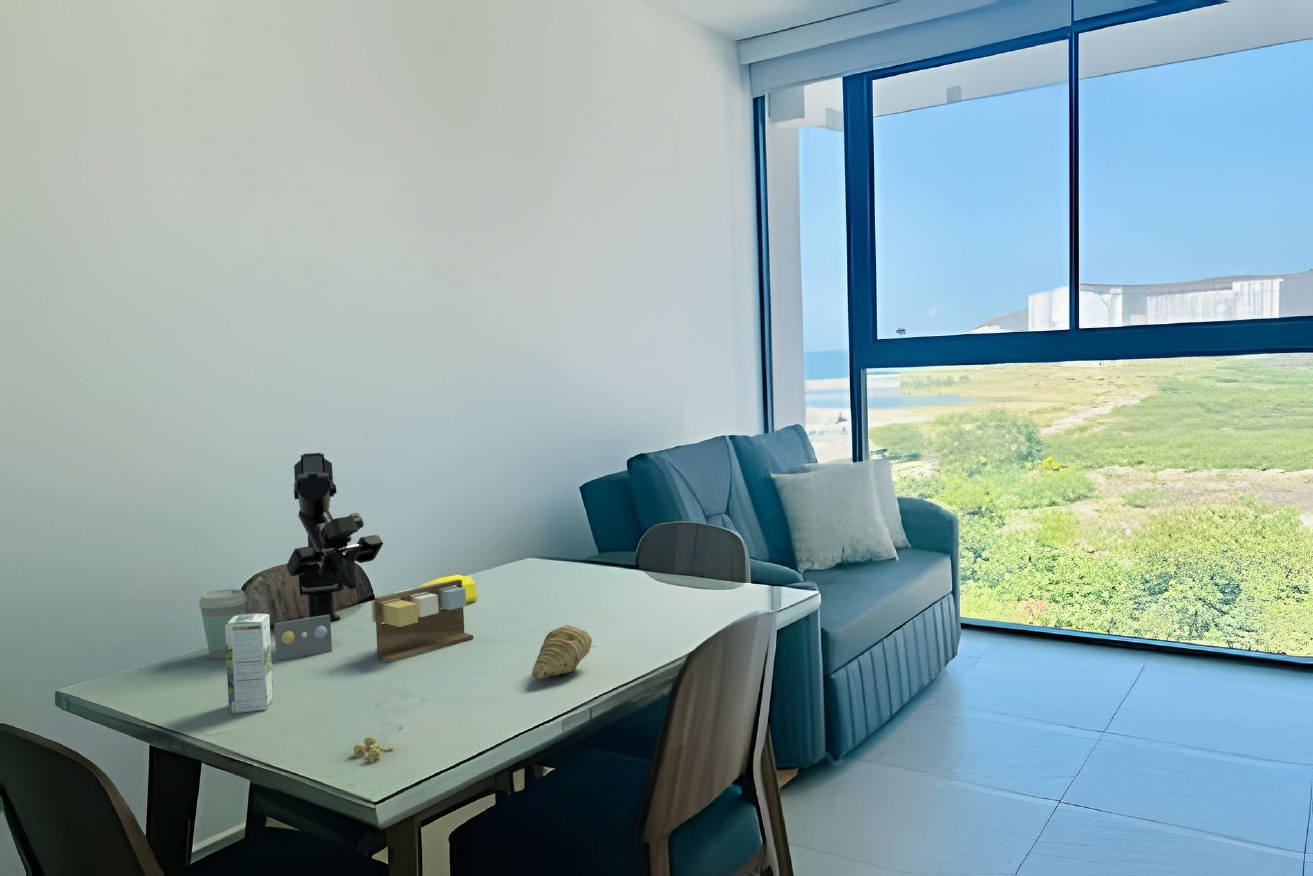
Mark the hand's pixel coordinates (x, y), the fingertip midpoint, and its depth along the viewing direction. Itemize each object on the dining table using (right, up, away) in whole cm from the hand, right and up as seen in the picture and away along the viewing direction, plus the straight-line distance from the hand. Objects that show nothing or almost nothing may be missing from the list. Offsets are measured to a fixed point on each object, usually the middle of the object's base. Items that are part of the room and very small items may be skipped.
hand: (353, 587), depth 190 cm
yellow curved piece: (+12, -9, +30) cm, 34 cm away
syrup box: (-6, -14, -35) cm, 38 cm away
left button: (+11, -5, -10) cm, 15 cm away
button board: (+15, -11, -4) cm, 20 cm away
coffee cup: (-24, -13, -3) cm, 27 cm away
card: (-7, -12, -6) cm, 15 cm away
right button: (+18, -4, +2) cm, 18 cm away
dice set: (+20, -15, -56) cm, 62 cm away
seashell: (+43, -12, -25) cm, 51 cm away
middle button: (+13, -4, -3) cm, 14 cm away
